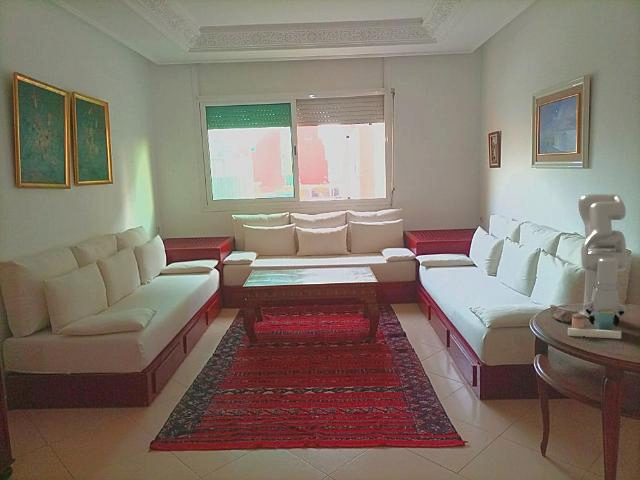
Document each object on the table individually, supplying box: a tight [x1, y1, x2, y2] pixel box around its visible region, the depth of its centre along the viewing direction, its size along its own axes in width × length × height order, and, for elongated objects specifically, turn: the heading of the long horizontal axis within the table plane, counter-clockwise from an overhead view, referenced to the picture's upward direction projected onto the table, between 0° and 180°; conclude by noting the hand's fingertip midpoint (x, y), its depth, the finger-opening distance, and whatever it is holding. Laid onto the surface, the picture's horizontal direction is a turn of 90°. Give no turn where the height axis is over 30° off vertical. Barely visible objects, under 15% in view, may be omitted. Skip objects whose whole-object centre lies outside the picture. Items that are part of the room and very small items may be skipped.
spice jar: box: [571, 313, 586, 329], centre depth 213 cm, size 5×5×8 cm
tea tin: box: [594, 310, 615, 330], centre depth 215 cm, size 5×7×9 cm
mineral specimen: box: [549, 304, 579, 323], centre depth 230 cm, size 13×7×6 cm, turn 45°
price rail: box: [567, 327, 622, 340], centre depth 208 cm, size 1×20×3 cm, turn 74°
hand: (603, 324), depth 216 cm, fingers open, 8 cm apart
